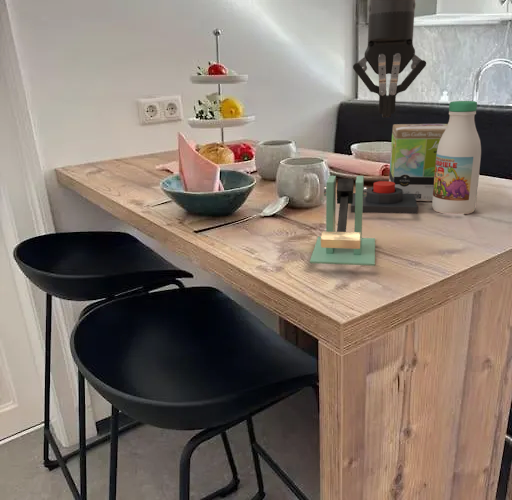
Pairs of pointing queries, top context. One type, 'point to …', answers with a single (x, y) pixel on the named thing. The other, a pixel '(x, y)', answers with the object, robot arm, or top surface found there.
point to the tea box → (415, 158)
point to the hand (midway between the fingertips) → (386, 116)
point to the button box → (388, 202)
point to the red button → (384, 187)
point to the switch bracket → (366, 244)
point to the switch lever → (342, 220)
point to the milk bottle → (458, 162)
